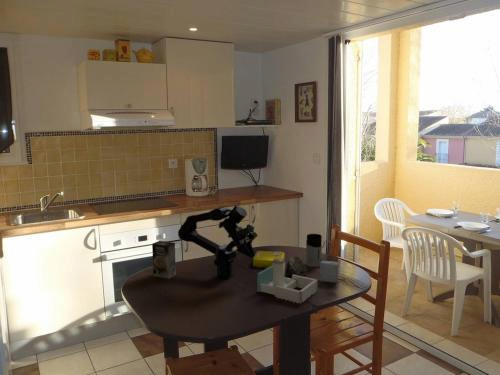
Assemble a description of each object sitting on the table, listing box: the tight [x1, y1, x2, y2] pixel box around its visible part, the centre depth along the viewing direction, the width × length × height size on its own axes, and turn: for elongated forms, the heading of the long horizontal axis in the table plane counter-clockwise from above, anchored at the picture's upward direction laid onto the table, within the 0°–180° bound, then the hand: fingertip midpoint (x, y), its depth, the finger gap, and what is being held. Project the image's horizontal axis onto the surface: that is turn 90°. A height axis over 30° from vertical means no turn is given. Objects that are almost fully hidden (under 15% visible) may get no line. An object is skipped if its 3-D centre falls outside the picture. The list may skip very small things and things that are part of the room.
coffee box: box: [151, 240, 177, 279], centre depth 207 cm, size 9×6×16 cm
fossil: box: [285, 255, 308, 277], centre depth 209 cm, size 11×9×10 cm
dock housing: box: [274, 274, 319, 305], centre depth 185 cm, size 12×16×5 cm
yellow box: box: [252, 250, 286, 269], centre depth 225 cm, size 15×15×5 cm
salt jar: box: [273, 258, 286, 287], centre depth 190 cm, size 5×5×12 cm
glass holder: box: [304, 233, 333, 268], centre depth 221 cm, size 9×14×15 cm, turn 54°
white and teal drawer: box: [256, 265, 298, 296], centre depth 190 cm, size 12×15×8 cm
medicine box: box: [319, 260, 340, 284], centre depth 200 cm, size 8×4×9 cm, turn 71°
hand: (253, 256), depth 196 cm, fingers closed
